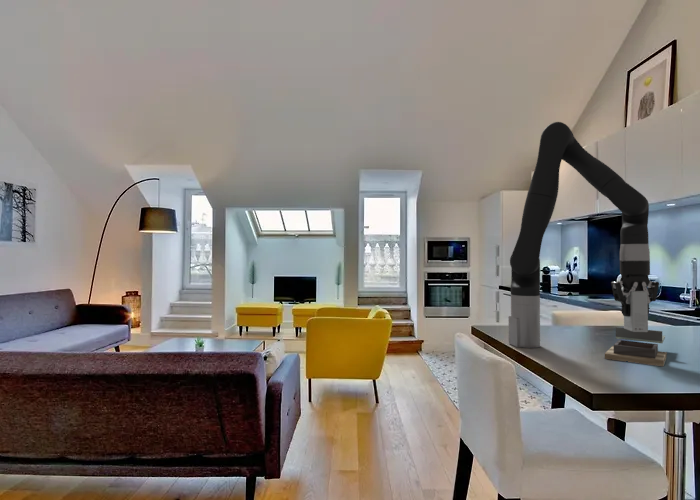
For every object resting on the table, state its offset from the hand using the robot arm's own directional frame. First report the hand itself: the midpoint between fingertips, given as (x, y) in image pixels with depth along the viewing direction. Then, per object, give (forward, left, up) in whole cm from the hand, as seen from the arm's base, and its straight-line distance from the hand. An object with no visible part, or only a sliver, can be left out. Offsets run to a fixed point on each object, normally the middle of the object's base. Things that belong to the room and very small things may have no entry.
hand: (635, 315), depth 126 cm
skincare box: (0, 0, -5) cm, 5 cm away
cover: (+9, +9, -8) cm, 15 cm away
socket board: (0, 0, -13) cm, 13 cm away
